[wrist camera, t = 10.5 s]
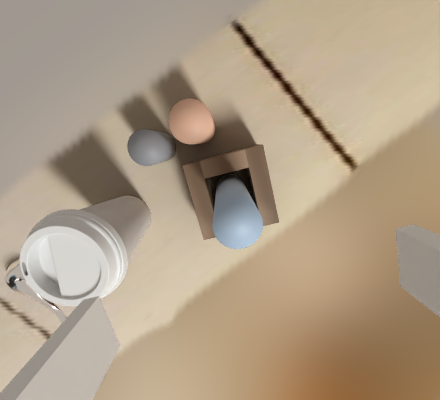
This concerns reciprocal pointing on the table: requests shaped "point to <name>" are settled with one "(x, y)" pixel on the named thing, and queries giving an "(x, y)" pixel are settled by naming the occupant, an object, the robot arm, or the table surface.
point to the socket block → (227, 163)
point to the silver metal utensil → (27, 288)
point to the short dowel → (151, 147)
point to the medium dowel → (191, 122)
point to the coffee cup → (83, 250)
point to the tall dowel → (235, 214)
